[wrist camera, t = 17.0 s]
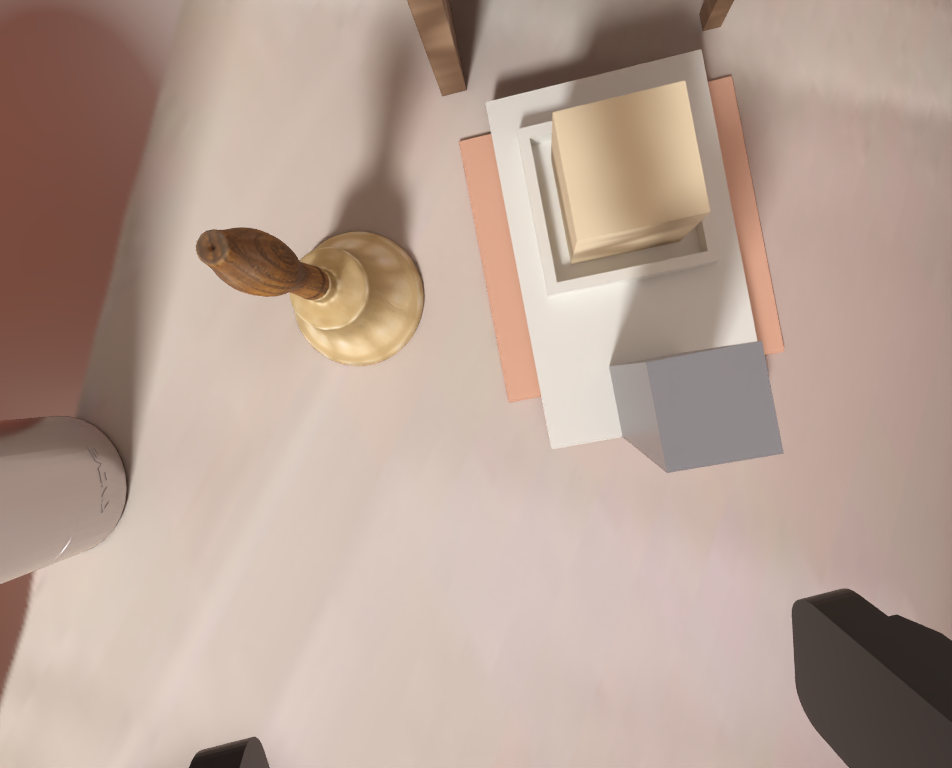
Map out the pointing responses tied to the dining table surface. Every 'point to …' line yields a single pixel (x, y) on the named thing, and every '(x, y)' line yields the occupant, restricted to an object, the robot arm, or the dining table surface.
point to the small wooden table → (442, 44)
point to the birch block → (628, 172)
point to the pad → (503, 264)
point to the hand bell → (328, 288)
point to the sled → (636, 298)
